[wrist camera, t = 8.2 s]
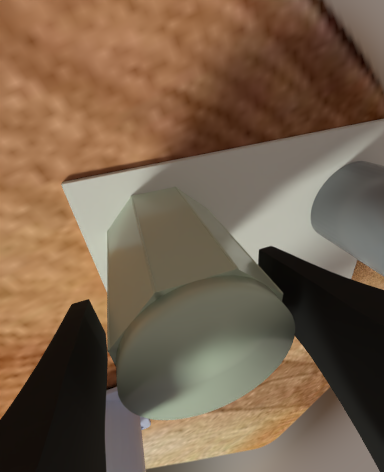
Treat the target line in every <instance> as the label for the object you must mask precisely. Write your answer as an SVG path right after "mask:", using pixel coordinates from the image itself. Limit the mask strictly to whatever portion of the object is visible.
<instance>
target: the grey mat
mask: <svg viewBox="0 0 384 472" xmlns="http://www.w3.org/2000/svg"><path fill="white" fill-rule="evenodd" d="M356 161H366V162H370V163H374V164H378V165H382V166H384V119H379V120H374V121H369V122H364V123H359V124H354V125H349V126H344V127H339V128H334V129H329V130H324V131H319V132H313V133H308V134H303V135H298V136H293V137H288V138H283V139H278V140H273V141H268V142H263V143H258V144H253V145H247V146H242V147H237V148H232V149H227V150H222V151H217V152H212V153H207V154H202V155H197V156H192V157H187V158H181V159H176V160H171V161H166V162H161V163H156V164H151V165H146V166H141V167H136V168H131V169H126V170H121V171H115V172H110V173H105V174H100V175H95V176H90V177H85V178H80V179H75V180H70V181H65V182H62V184H61V185H62V188H63V190H64V192H65V195H66V197H67V199H68V202H69V204H70V206H71V209H72V211H73V213H74V216H75V218H76V220H77V223H78V225H79V228H80V230H81V232H82V235H83V237H84V239H85V242H86V244H87V246H88V249H89V251H90V253H91V256H92V258H93V260H94V263H95V265H96V267H97V270H98V272H99V275H100V277H101V279H102V282H103V284H104V286H105V289H106V291H107V230H109V228H110V227H111V225H112V224H113V222H114V221H115V219H116V218H117V216H118V215H119V213H120V212H121V210H122V209H123V207H124V206H125V204H126V203H127V201H128V200H129V198H130V197H131V196H133V195H138V194H143V193H147V192H152V191H157V190H162V189H167V188H172V187H177V188H178V189H180V190H181V191H183V192H184V193H185V194H187V195H188V196H190V197H191V198H193V199H194V200H196V201H197V202H199V203H200V204H202V205H203V206H204V207H206V208H208V209H209V210H210V212H211V213H212V214H213V215H214V216H215V217H216V218H217V219H218V221H219V222H220V223H221V224H222V225H223V226H224V227H225V228H226V230H227V231H228V232H229V233H230V234H231V235H232V236H233V237H234V239H235V240H236V241H237V242H238V243H239V244H240V245H241V246H242V247H243V249H244V250H245V251H246V252H247V253H248V254H249V255H250V256H251V258H252V259H253V260H254V261H255V262H256V263H257V264H258V256H259V249H262V248H265V247H269V246H273V247H276V248H278V249H280V250H283V251H285V252H287V253H289V254H292V255H294V256H296V257H298V258H300V259H303V260H305V261H307V262H309V263H312V264H314V265H316V266H319V267H321V268H323V269H326V270H328V271H331V272H333V273H336V274H338V275H341V276H344V277H346V278H349V279H351V278H352V275H353V272H354V268H355V265H356V262H357V259H356V258H354V257H353V256H351V255H350V254H348V253H347V252H345V251H344V250H342V249H341V248H339V247H338V246H336V245H335V244H333V243H332V242H330V241H329V240H327V239H325V238H324V237H322V236H321V235H319V234H318V233H316V231H315V230H314V229H313V227H312V224H311V209H312V205H313V202H314V199H315V197H316V195H317V193H318V192H319V190H320V188H321V187H322V185H323V184H324V183H325V182H326V180H327V179H328V178H329V177H330V176H331V175H332V174H334V173H335V172H336V171H337V170H339V169H340V168H342V167H343V166H345V165H347V164H349V163H352V162H356Z"/></svg>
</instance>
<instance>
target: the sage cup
mask: <svg viewBox="0 0 384 472" xmlns="http://www.w3.org/2000/svg"><path fill="white" fill-rule="evenodd" d="M282 298H283V292H282V291H281V290H280V289H279V288H278V287H277V286H276V284H275V283H274V282H273V281H272V280H271V279H270V278H269V277H268V275H267V274H266V273H265V272H264V271H263V270H262V269H261V268H260V267H259V265H258V264H257V263H256V262H255V261H254V260H253V259H252V258H251V256H250V255H249V254H248V253H247V252H246V251H245V250H244V249H243V247H242V246H241V245H240V244H239V243H238V242H237V241H236V240H235V239H234V237H233V236H232V235H231V234H230V233H229V232H228V231H227V230H226V228H225V227H224V226H223V225H222V224H221V223H220V222H219V221H218V219H217V218H216V217H215V216H214V215H213V214H212V213H211V212H210V210H209V209H208V208H206V207H204V206H203V205H202V204H200V203H199V202H197V201H196V200H194V199H193V198H191V197H190V196H188V195H187V194H185V193H184V192H183V191H181V190H180V189H178V188H177V187H172V188H167V189H162V190H157V191H152V192H147V193H143V194H138V195H133V196H131V197H130V198H129V200H128V201H127V203H126V204H125V206H124V207H123V209H122V210H121V212H120V213H119V215H118V216H117V218H116V219H115V221H114V222H113V224H112V225H111V227H110V228H109V230H107V321H108V352H109V353H110V356H111V358H112V360H113V362H114V364H115V366H116V373H117V391H118V396H119V398H120V401H121V402H122V404H123V405H124V406H125V407H126V408H127V409H128V410H129V411H130V412H132V413H134V414H136V415H138V416H141V417H144V418H148V419H154V420H175V419H183V418H189V417H193V416H197V415H201V414H204V413H207V412H210V411H213V410H215V409H218V408H220V407H223V406H225V405H227V404H229V403H231V402H233V401H235V400H237V399H238V398H240V397H242V396H244V395H245V394H247V393H248V392H250V391H251V390H253V389H254V388H255V387H257V386H258V385H259V384H261V383H262V382H263V381H264V380H265V379H266V378H268V377H269V376H270V375H271V374H272V373H273V372H274V371H275V369H276V368H277V367H278V366H279V365H280V364H281V362H282V361H283V359H284V358H285V357H286V355H287V353H288V351H289V350H290V347H291V345H292V343H293V339H294V335H295V322H294V319H293V316H292V314H291V313H290V311H289V310H288V308H287V307H286V306H285V305H284V304H283V302H282Z"/></svg>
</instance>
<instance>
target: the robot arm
mask: <svg viewBox="0 0 384 472" xmlns="http://www.w3.org/2000/svg"><path fill="white" fill-rule="evenodd" d="M258 265H259V267H260V268H261V269H262V270H263V271H264V272H265V273H266V274H267V275H268V277H269V278H270V279H271V280H272V281H273V282H274V283H275V284H276V286H277V287H278V288H279V289H280V290H281V291H282V292H283V298H282V302H283V304H284V305H285V306H286V307H287V308H288V310H289V311H290V313H291V314H292V316H293V319H294V322H295V336H296V338H297V339H298V340H299V341H300V343H301V344H302V345H303V346H304V348H305V349H306V351H307V352H308V353H309V355H310V356H311V357H312V359H313V360H314V362H315V363H316V365H317V366H318V368H319V369H320V371H321V373H322V374H323V376H324V377H325V379H326V380H327V382H328V383H329V385H330V387H331V388H332V390H333V391H334V393H335V394H336V396H337V397H338V399H339V401H340V402H341V404H342V406H343V407H344V409H345V411H346V412H347V414H348V416H349V417H350V419H351V421H352V423H353V424H354V426H355V427H356V429H357V431H358V433H359V434H360V436H361V438H362V440H363V442H364V443H365V445H366V447H367V449H368V451H369V452H370V454H371V456H372V458H373V459H374V461H375V463H376V465H377V467H378V469H379V471H380V472H384V290H381V289H378V288H375V287H372V286H369V285H366V284H363V283H360V282H357V281H354V280H351V279H349V278H346V277H344V276H341V275H338V274H336V273H333V272H331V271H328V270H326V269H323V268H321V267H319V266H316V265H314V264H312V263H309V262H307V261H305V260H303V259H300V258H298V257H296V256H294V255H292V254H289V253H287V252H285V251H283V250H280V249H278V248H276V247H273V246H269V247H265V248H262V249H259V256H258ZM107 360H108V358H107V345H106V334H105V331H104V329H103V327H102V325H101V323H100V321H99V319H98V317H97V315H96V313H95V311H94V309H93V307H92V305H91V303H90V301H89V299H88V300H85V301H81V302H78V303H74V304H72V305H71V307H70V308H69V310H68V312H67V314H66V315H65V317H64V319H63V321H62V323H61V325H60V326H59V328H58V330H57V332H56V334H55V335H54V337H53V339H52V341H51V342H50V344H49V346H48V347H47V349H46V351H45V353H44V354H43V356H42V358H41V359H40V361H39V363H38V364H37V366H36V368H35V369H34V371H33V372H32V374H31V375H30V377H29V378H28V380H27V382H26V383H25V385H24V386H23V388H22V389H21V391H20V392H19V394H18V395H17V397H16V398H15V400H14V401H13V403H12V404H11V406H10V407H9V409H8V410H7V411H6V413H5V414H4V416H3V417H2V418H1V420H0V472H146V470H145V460H144V450H143V441H142V431H141V430H143V429H145V428H148V427H149V426H150V425H151V421H150V419H148V418H144V417H141V416H138V415H136V414H134V413H132V412H130V411H129V410H128V409H127V408H126V407H125V406H124V405H123V404H122V402H121V401H120V398H119V396H118V391H117V387H114V388H112V389H109V390H106V388H107Z"/></svg>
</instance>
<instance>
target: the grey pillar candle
mask: <svg viewBox="0 0 384 472" xmlns="http://www.w3.org/2000/svg"><path fill="white" fill-rule="evenodd" d="M311 224H312V227H313V229H314V230H315V231H316V233H318V234H319V235H321V236H322V237H324V238H325V239H327V240H329V241H330V242H332V243H333V244H335V245H336V246H338V247H339V248H341V249H342V250H344V251H345V252H347V253H348V254H350V255H351V256H353V257H354V258H356V259H358V260H359V261H361V262H362V263H364V264H365V265H367V266H368V267H370V268H371V269H373V270H374V271H376V272H377V273H379V274H380V275H382V276H384V166H382V165H378V164H374V163H370V162H366V161H356V162H352V163H349V164H347V165H345V166H343V167H342V168H340V169H339V170H337V171H336V172H335V173H334V174H332V175H331V176H330V177H329V178H328V179H327V180H326V182H325V183H324V184H323V185H322V187H321V188H320V190H319V192H318V193H317V195H316V197H315V199H314V202H313V205H312V209H311Z"/></svg>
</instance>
